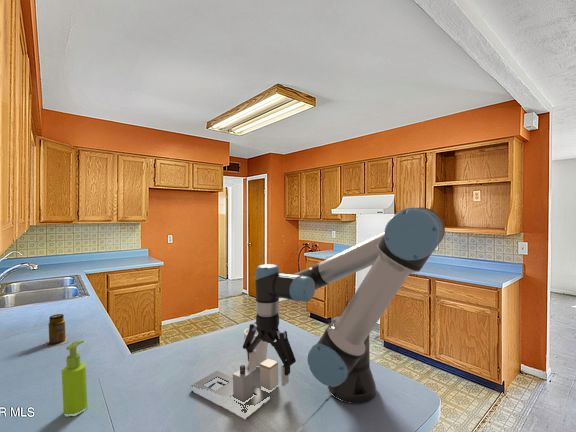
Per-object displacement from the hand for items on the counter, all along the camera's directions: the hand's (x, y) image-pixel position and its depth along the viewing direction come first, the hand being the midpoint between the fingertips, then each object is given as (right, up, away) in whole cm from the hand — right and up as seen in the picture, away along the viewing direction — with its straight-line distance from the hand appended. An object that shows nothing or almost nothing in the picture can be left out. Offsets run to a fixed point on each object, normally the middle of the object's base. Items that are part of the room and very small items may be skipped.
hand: (268, 377), depth 102 cm
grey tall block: (-7, -4, -7) cm, 11 cm away
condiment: (-99, -5, +40) cm, 107 cm away
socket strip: (-12, -5, -3) cm, 13 cm away
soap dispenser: (-57, -6, -8) cm, 58 cm away
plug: (0, -4, 0) cm, 4 cm away
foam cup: (-5, -4, +16) cm, 17 cm away
